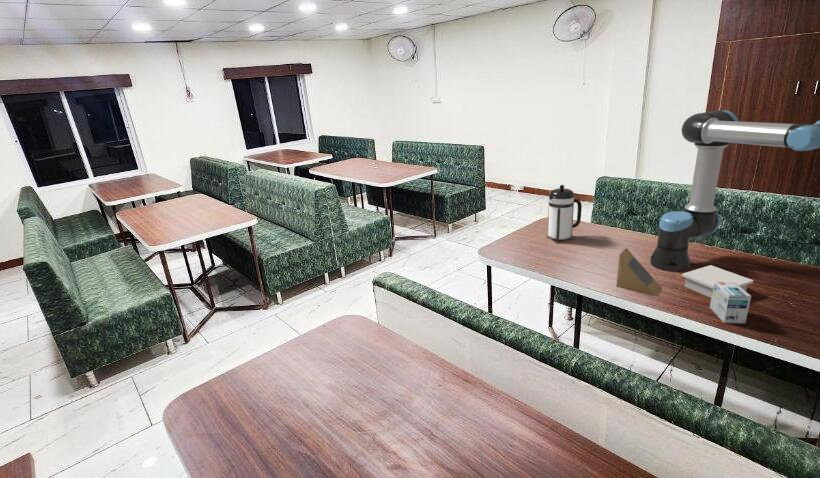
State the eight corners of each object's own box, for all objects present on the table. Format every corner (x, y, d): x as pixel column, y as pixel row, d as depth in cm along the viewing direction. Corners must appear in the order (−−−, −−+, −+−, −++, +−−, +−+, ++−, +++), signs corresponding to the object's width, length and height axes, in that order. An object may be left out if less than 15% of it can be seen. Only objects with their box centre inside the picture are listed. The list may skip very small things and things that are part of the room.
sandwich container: (658, 297, 158) (663, 261, 153) (615, 287, 168) (619, 253, 163) (663, 288, 164) (668, 254, 159) (622, 279, 174) (625, 246, 169)
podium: (680, 286, 164) (682, 273, 162) (708, 277, 169) (710, 265, 167) (720, 303, 150) (723, 290, 148) (750, 293, 155) (753, 280, 153)
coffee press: (572, 245, 212) (576, 189, 201) (541, 241, 220) (543, 187, 210) (580, 234, 225) (583, 181, 215) (550, 231, 234) (552, 179, 223)
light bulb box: (746, 324, 138) (752, 295, 134) (723, 323, 139) (729, 295, 135) (729, 307, 147) (735, 281, 143) (708, 307, 149) (713, 280, 145)
